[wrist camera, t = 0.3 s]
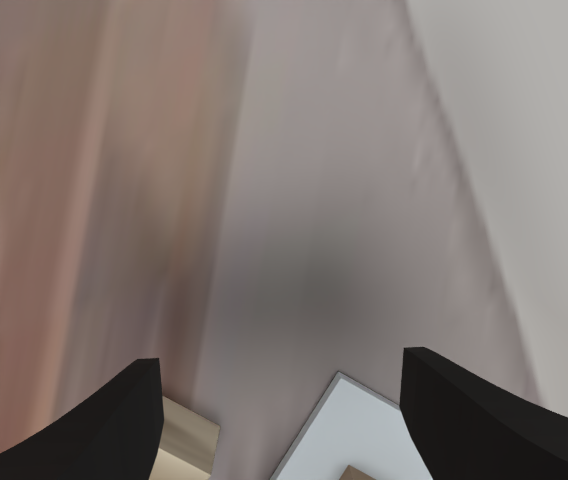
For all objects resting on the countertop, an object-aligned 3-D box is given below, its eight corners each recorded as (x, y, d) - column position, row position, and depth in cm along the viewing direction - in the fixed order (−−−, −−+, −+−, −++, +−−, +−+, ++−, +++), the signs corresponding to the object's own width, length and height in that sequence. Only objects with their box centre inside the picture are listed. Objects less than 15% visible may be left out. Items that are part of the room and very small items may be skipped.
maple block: (184, 483, 23) (167, 544, 19) (121, 451, 23) (90, 506, 19) (220, 425, 23) (210, 475, 19) (156, 391, 22) (133, 434, 18)
